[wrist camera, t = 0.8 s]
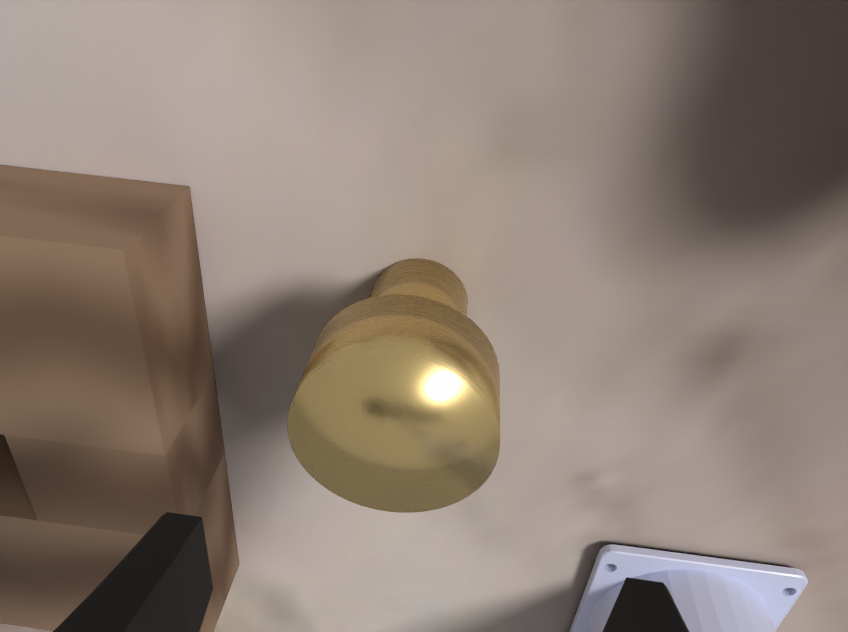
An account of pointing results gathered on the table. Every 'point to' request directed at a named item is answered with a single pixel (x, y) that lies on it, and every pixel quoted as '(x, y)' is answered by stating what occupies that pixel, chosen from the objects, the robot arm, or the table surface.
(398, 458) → the brass peg
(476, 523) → the table surface
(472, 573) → the table surface
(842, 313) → the table surface
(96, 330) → the walnut block
